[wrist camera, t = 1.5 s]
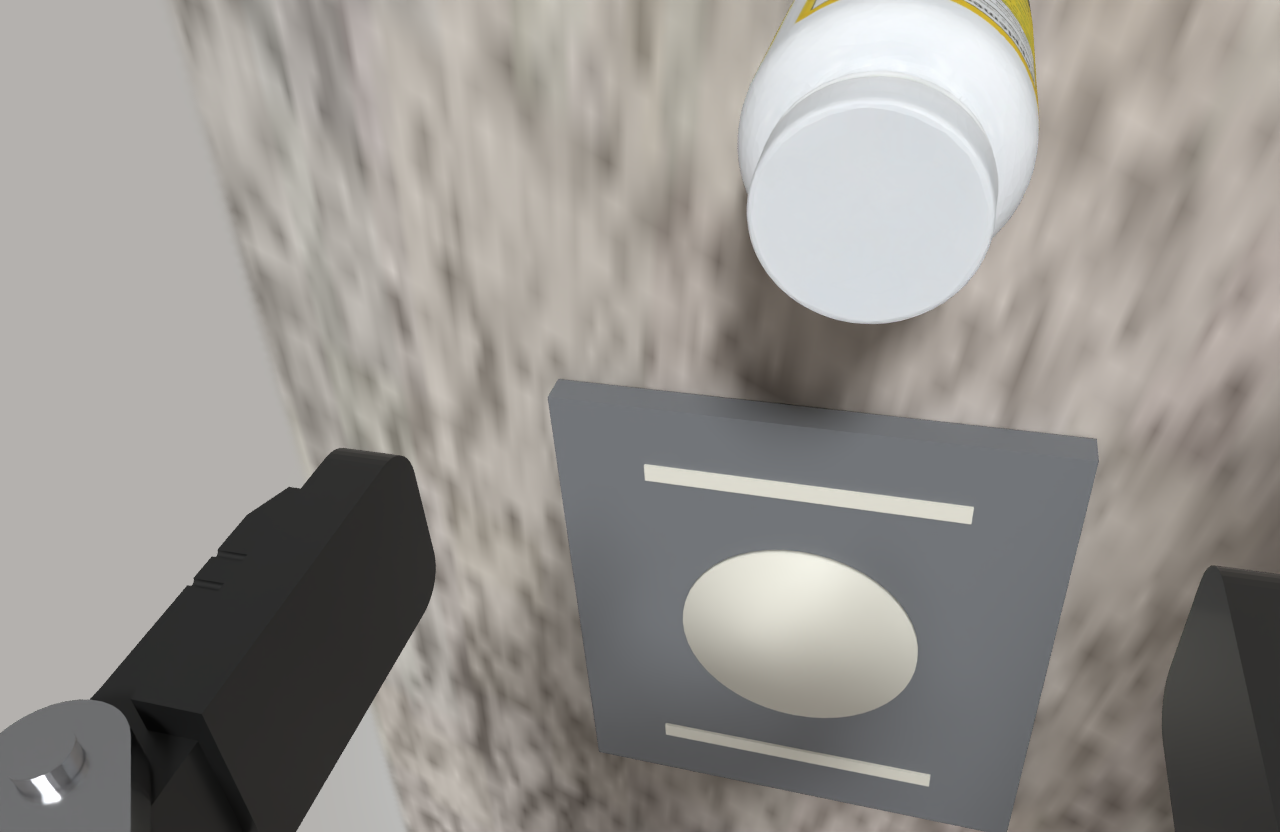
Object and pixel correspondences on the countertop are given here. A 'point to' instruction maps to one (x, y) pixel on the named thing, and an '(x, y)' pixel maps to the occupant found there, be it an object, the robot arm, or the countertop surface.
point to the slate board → (818, 592)
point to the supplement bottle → (887, 149)
